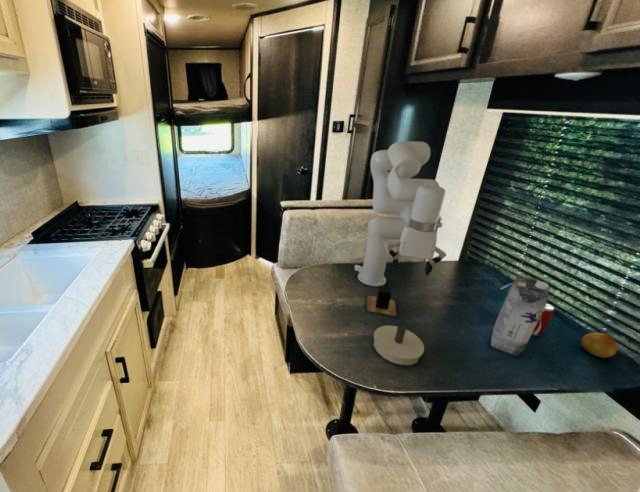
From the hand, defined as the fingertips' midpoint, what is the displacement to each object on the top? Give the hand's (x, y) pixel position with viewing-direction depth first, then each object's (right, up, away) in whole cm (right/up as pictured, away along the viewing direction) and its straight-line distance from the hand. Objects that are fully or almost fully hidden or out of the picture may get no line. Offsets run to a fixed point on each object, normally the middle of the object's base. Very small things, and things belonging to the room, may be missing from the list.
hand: (410, 270), depth 106 cm
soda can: (+51, -24, +10) cm, 57 cm away
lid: (-4, -25, +1) cm, 25 cm away
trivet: (+1, -18, +25) cm, 30 cm away
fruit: (+64, -28, +1) cm, 70 cm away
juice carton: (+35, -27, +4) cm, 45 cm away
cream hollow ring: (-3, -28, +3) cm, 28 cm away
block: (+1, -17, +24) cm, 30 cm away
